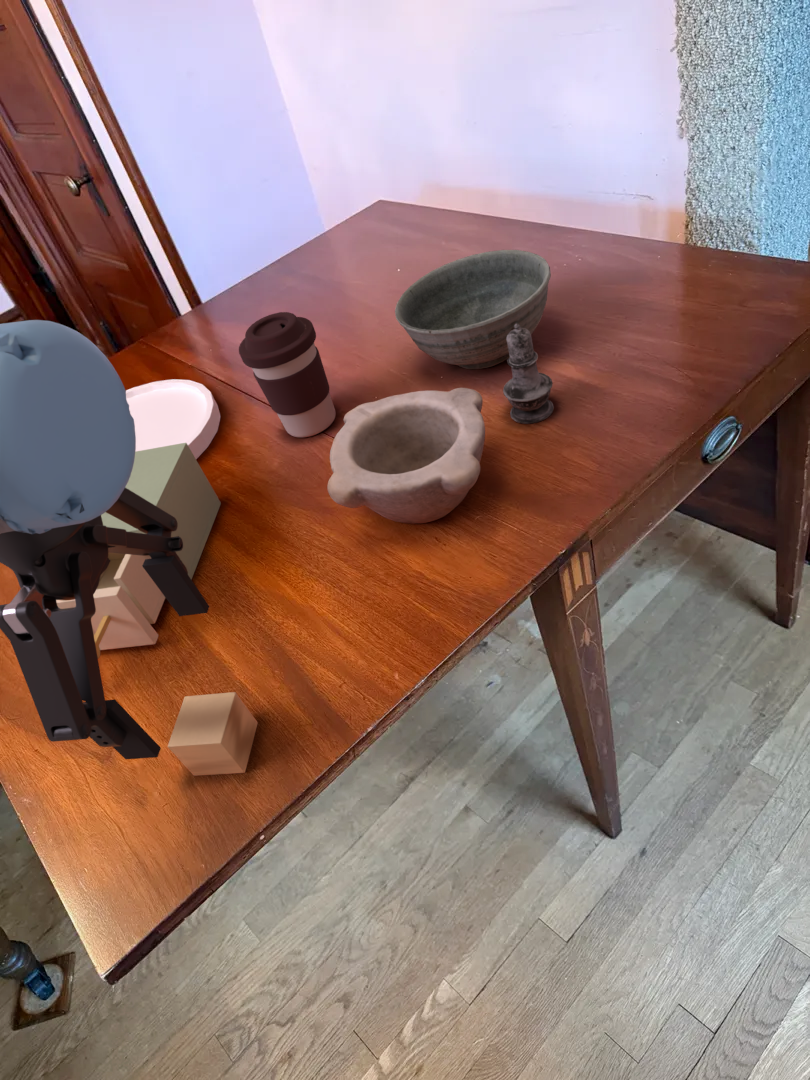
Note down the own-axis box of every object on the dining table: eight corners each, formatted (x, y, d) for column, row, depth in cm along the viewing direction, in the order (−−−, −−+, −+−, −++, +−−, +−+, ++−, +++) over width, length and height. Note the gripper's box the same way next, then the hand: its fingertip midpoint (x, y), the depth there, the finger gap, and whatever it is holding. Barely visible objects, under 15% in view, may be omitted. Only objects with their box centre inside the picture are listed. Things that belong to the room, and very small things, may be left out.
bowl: (553, 387, 94) (542, 315, 87) (397, 402, 101) (376, 337, 94) (565, 304, 107) (556, 236, 101) (427, 323, 114) (411, 261, 108)
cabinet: (187, 590, 84) (144, 528, 78) (89, 602, 87) (41, 544, 81) (221, 503, 95) (186, 442, 88) (133, 517, 98) (93, 459, 91)
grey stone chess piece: (555, 393, 93) (542, 305, 85) (556, 421, 88) (543, 331, 80) (508, 400, 94) (491, 314, 86) (507, 428, 90) (489, 341, 82)
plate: (241, 446, 103) (234, 432, 101) (50, 541, 99) (39, 528, 97) (197, 371, 124) (190, 358, 122) (37, 448, 119) (28, 435, 117)
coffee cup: (267, 447, 101) (220, 351, 91) (291, 404, 108) (249, 310, 98) (334, 442, 98) (292, 342, 88) (354, 398, 104) (318, 300, 94)
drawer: (138, 686, 74) (96, 637, 69) (40, 695, 77) (-8, 649, 72) (192, 551, 87) (160, 502, 82) (106, 563, 90) (70, 516, 85)
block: (245, 773, 65) (220, 742, 61) (193, 776, 66) (167, 746, 63) (258, 722, 68) (235, 691, 65) (209, 726, 69) (184, 696, 66)
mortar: (494, 543, 77) (477, 475, 71) (340, 556, 81) (312, 494, 75) (501, 443, 88) (487, 377, 82) (366, 459, 93) (344, 398, 87)
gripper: (-45, 634, 36) (164, 826, 50) (130, 358, 54) (248, 558, 68) (-166, 649, 38) (69, 830, 52) (41, 377, 55) (175, 568, 70)
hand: (171, 677), depth 60 cm, fingers open, 13 cm apart
